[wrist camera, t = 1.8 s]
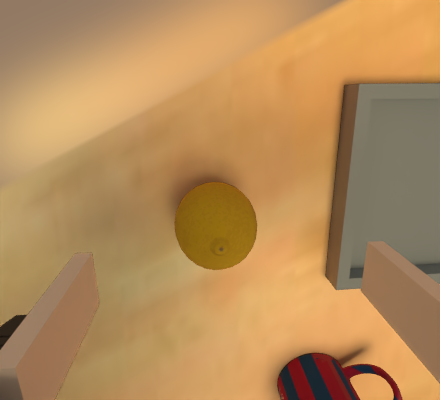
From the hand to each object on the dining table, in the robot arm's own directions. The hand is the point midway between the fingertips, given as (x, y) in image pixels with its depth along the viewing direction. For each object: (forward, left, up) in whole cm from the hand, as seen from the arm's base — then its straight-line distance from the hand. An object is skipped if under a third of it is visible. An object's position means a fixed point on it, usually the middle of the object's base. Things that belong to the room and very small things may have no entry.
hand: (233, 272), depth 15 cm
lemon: (0, 0, -11) cm, 11 cm away
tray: (+20, +1, -11) cm, 22 cm away
